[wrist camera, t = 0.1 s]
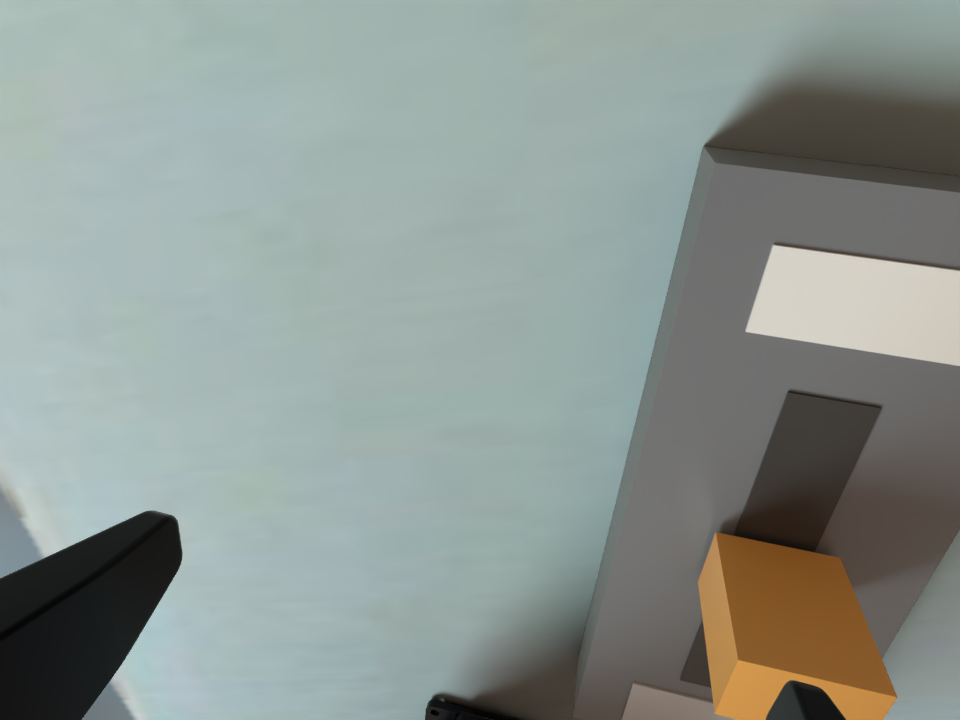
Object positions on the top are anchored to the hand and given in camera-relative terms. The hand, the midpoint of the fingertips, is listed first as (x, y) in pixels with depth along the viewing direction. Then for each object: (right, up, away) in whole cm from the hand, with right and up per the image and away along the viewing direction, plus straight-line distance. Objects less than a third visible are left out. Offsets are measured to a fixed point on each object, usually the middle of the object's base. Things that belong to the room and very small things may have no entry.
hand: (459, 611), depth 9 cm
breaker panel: (+11, -1, +15) cm, 18 cm away
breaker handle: (+10, -4, +12) cm, 16 cm away
